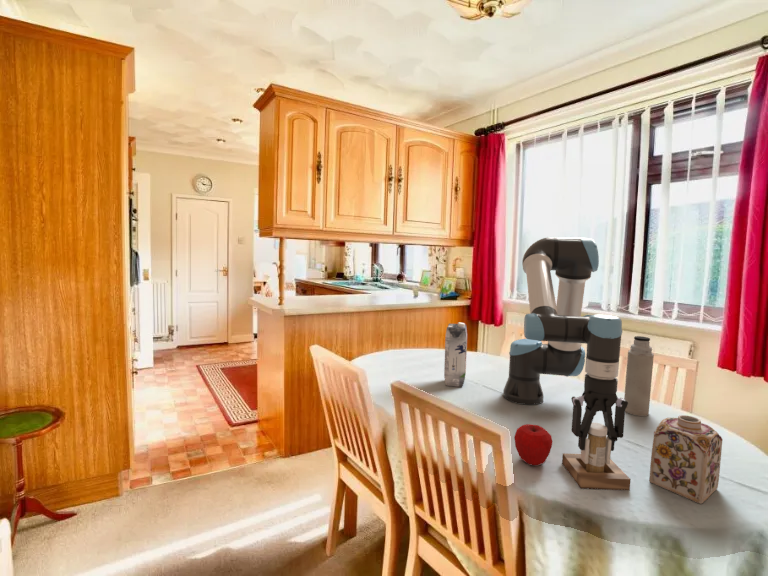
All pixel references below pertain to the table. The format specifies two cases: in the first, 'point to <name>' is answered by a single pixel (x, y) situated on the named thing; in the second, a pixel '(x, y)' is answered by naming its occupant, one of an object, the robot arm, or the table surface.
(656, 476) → the decorative jar
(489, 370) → the table surface
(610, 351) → the robot arm
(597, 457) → the sprinkles bottle
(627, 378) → the thermos bottle
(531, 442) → the apple
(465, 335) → the juice carton
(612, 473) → the socket board
